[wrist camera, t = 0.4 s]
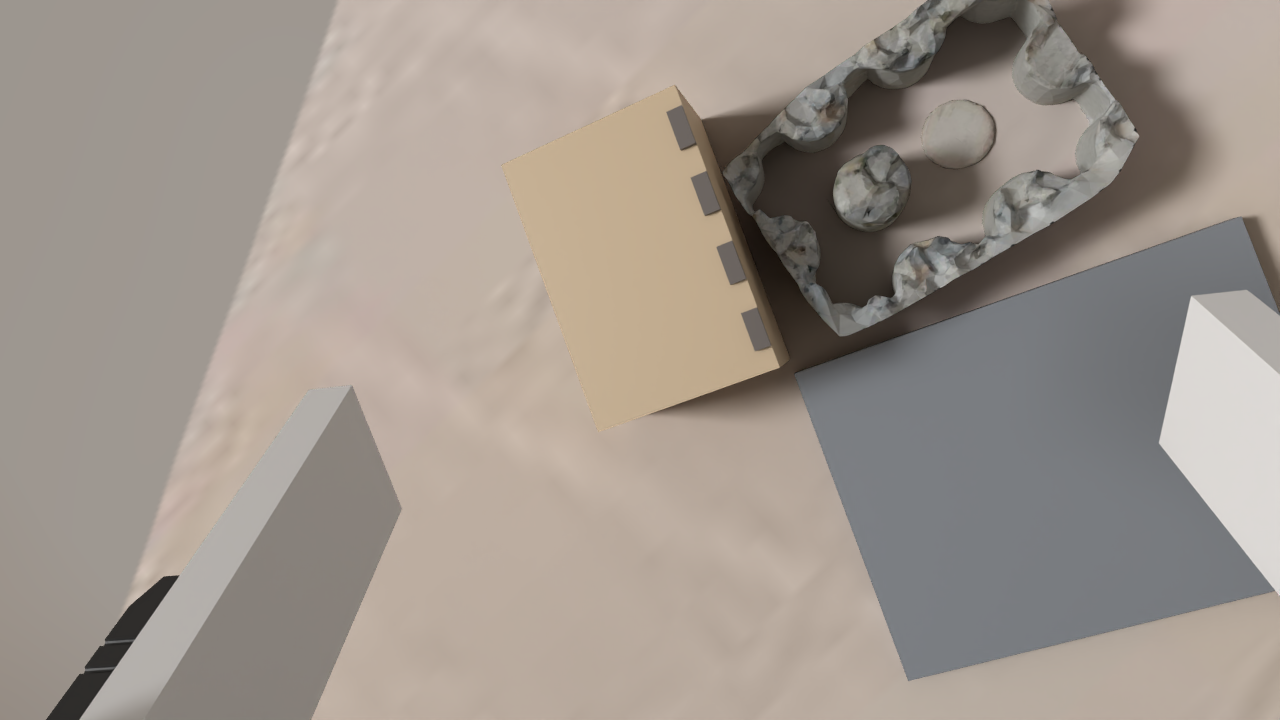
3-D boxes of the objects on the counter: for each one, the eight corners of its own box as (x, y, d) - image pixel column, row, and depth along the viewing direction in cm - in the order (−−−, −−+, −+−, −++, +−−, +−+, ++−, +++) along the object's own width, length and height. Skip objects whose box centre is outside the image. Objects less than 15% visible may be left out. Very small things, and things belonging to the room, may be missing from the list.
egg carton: (999, -20, 27) (1027, -79, 23) (1128, 174, 26) (1180, 149, 22) (719, 166, 29) (700, 143, 25) (832, 348, 28) (831, 353, 25)
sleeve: (790, 359, 29) (779, 368, 24) (634, 414, 30) (596, 433, 26) (700, 118, 29) (673, 83, 24) (550, 185, 30) (498, 163, 26)
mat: (1366, 559, 25) (1378, 565, 24) (907, 673, 28) (908, 680, 28) (1232, 218, 25) (1241, 216, 25) (795, 372, 29) (793, 373, 28)
